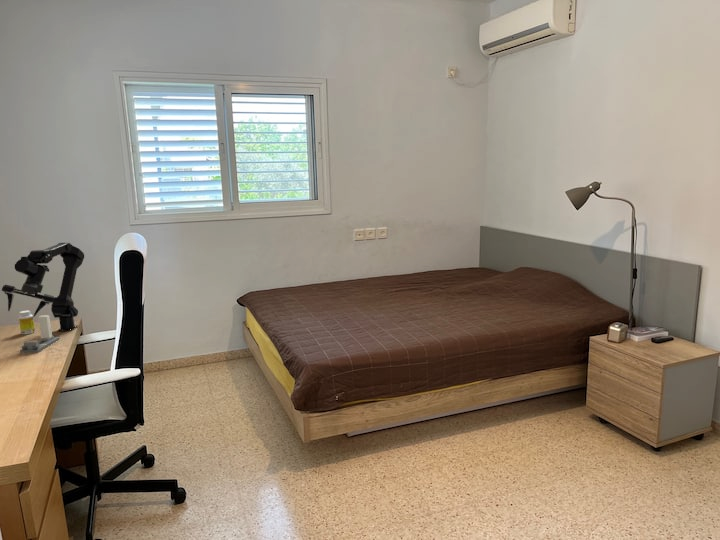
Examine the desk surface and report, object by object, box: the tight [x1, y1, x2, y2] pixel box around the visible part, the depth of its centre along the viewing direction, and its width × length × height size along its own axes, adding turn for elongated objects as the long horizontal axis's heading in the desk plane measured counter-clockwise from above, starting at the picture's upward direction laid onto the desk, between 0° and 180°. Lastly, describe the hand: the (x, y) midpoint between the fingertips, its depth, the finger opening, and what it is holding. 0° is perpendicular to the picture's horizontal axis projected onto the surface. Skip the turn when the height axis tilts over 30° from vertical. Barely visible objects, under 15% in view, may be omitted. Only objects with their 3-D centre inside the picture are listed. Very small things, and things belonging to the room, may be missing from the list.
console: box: [19, 336, 60, 354], centre depth 212 cm, size 16×7×4 cm, turn 2°
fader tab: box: [37, 314, 55, 341], centre depth 216 cm, size 4×4×10 cm
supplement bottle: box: [17, 309, 36, 335], centre depth 231 cm, size 6×6×10 cm
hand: (21, 314), depth 210 cm, fingers open, 9 cm apart
